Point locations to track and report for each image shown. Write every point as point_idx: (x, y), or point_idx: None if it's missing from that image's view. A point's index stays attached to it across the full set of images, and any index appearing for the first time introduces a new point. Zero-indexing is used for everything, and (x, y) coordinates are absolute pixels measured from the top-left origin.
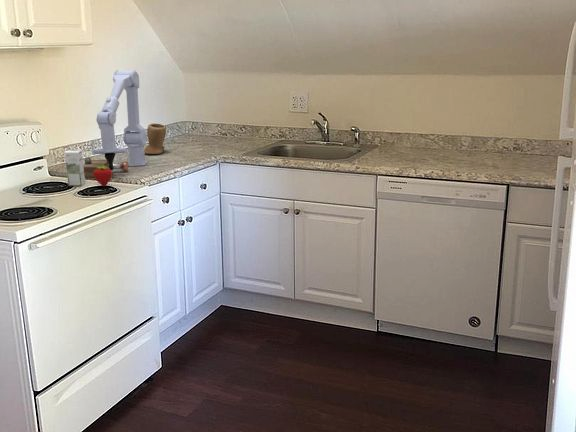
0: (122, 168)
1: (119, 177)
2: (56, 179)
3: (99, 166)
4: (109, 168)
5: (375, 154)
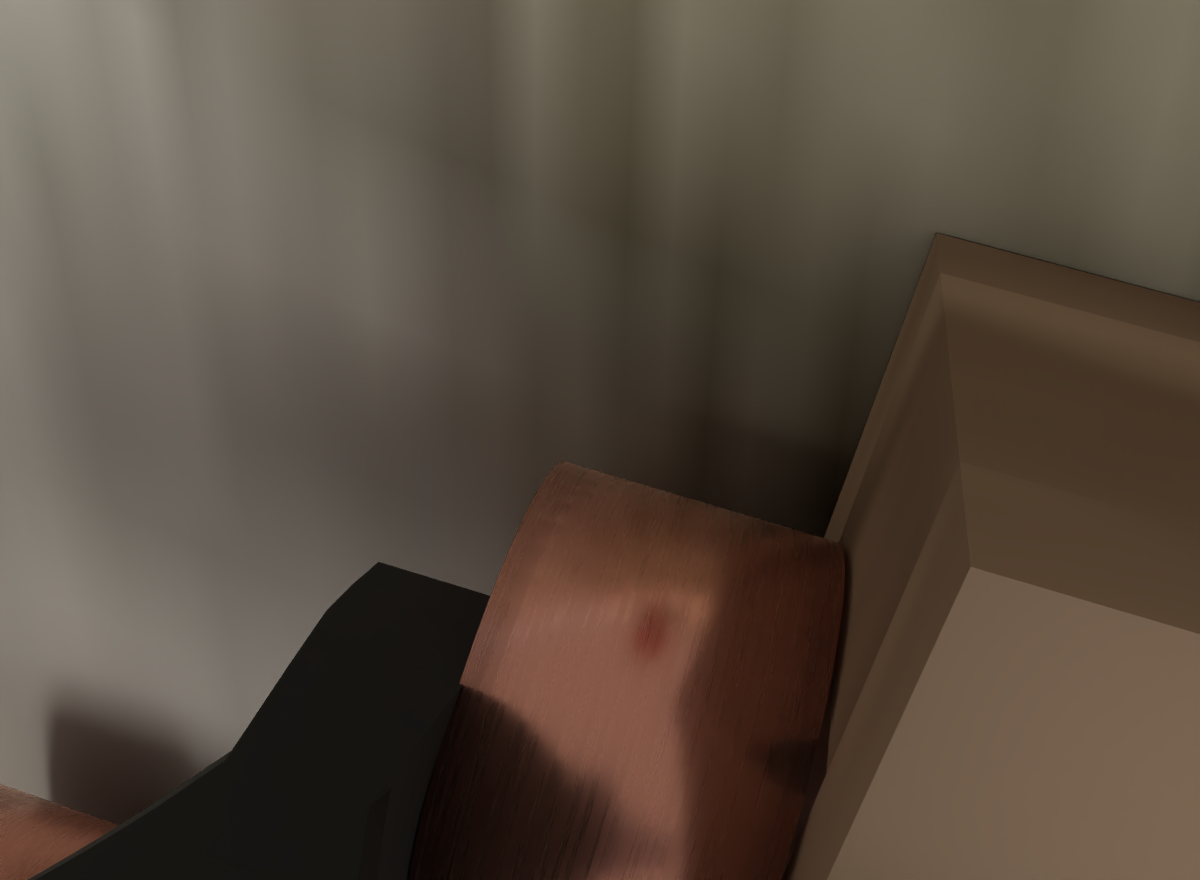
0: None
1: (194, 63)
2: None
3: (1186, 788)
4: (480, 636)
5: None
